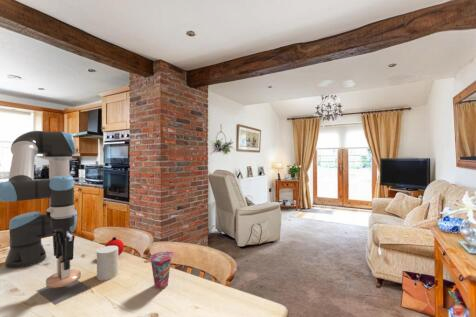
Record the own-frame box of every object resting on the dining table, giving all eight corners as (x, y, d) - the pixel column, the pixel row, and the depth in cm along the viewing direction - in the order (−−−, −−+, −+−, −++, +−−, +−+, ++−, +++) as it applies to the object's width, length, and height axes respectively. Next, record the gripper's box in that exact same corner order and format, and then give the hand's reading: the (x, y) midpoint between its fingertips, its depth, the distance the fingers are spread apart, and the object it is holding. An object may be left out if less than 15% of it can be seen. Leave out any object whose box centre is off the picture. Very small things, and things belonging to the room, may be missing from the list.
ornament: (123, 258, 121) (123, 239, 121) (103, 261, 118) (103, 241, 117) (124, 251, 129) (124, 233, 129) (105, 254, 126) (105, 235, 126)
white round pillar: (109, 282, 99) (109, 253, 98) (92, 280, 100) (92, 252, 100) (122, 273, 107) (122, 246, 106) (106, 271, 108) (106, 245, 108)
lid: (40, 281, 92) (40, 258, 91) (73, 269, 101) (72, 248, 100) (53, 291, 86) (52, 266, 85) (86, 277, 95) (85, 254, 94)
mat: (36, 292, 92) (36, 290, 92) (71, 278, 102) (71, 276, 102) (55, 306, 84) (54, 304, 84) (91, 289, 94) (91, 288, 94)
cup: (164, 293, 91) (163, 262, 91) (145, 289, 94) (145, 258, 94) (177, 280, 100) (177, 252, 100) (160, 277, 103) (160, 249, 103)
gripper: (42, 215, 93) (43, 274, 94) (60, 222, 85) (62, 286, 86) (64, 211, 100) (65, 266, 100) (83, 217, 91) (84, 277, 92)
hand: (63, 275), depth 93 cm, fingers closed on lid, 3 cm apart
